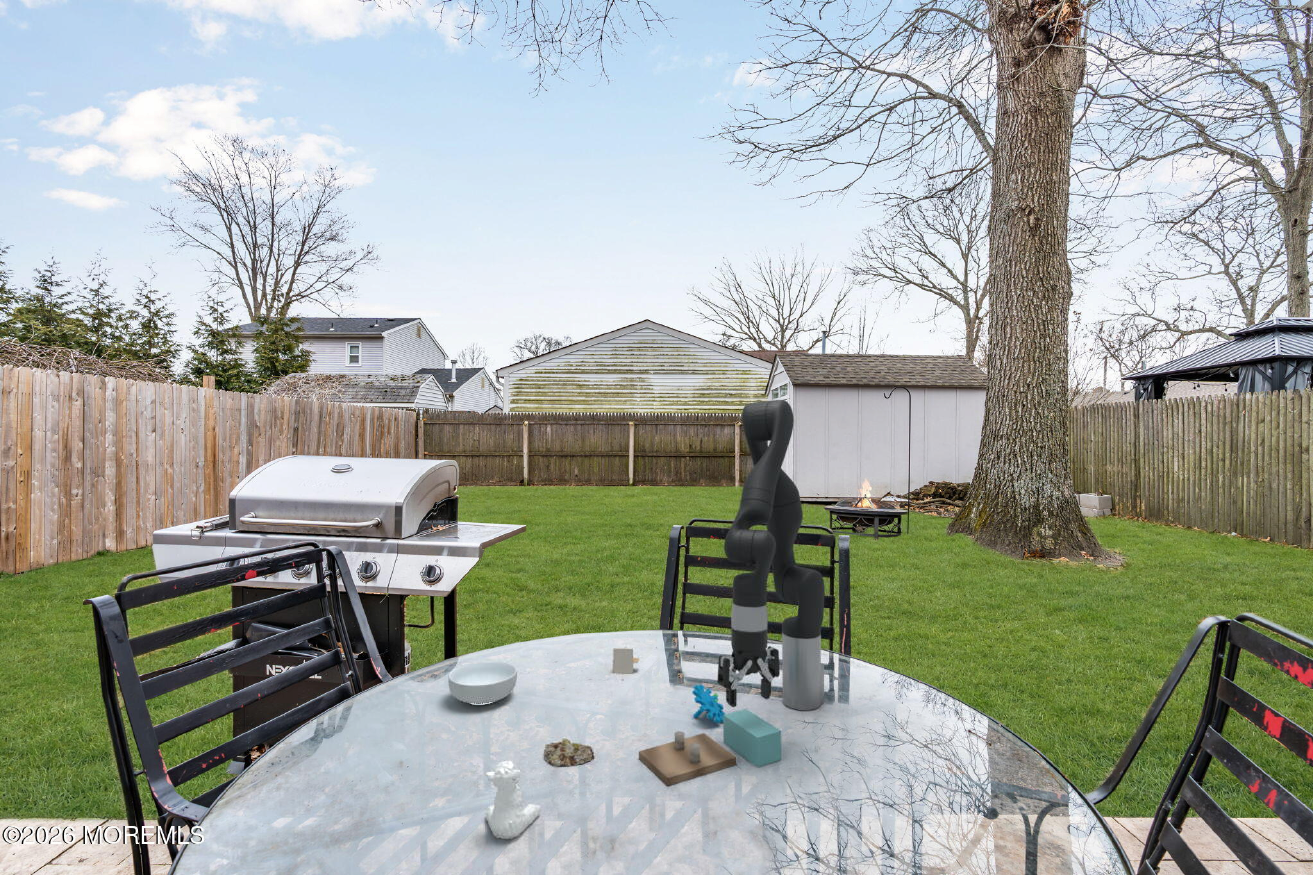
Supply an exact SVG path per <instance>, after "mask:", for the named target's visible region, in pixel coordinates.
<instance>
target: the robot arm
mask: <svg viewBox="0 0 1313 875" xmlns="http://www.w3.org/2000/svg"><path fill="white" fill-rule="evenodd" d="M741 413H742V414H741V421H742V429H743V434H744V437H745V440H746V443H747V447H748V451H749V454H750V457H751V460H752V465H753V468H752V469H751V470H750V472H749V473H748V475H747V476H746V478H745V480H744V483H743V487H742V490H741V498H740V504H739V509H738V511H737V513H736V516H735V518H734V520H733V522H732V524H731V526H730V528H729V530H728V532H727V533H726V537H725V539H724V543H723V544H724V545H723V549H724V554H725V556H726V558H727V559H728V560H729V561H730V562H734V563H740V564H754V565H756V567H755V569H754V571H752V572H744V573H739V574H736V575H735V576H733V577H734V578H733V580H732V607H731V619H730V620H731V625H730V626H731V627H730V628H731V632H730V635H731V636H730V639H731V640H730V643H731V648H732V652H731V655H729V656H724V655H722V654H721V655H719V656H718V665H717V666H718V667H717V684H718V685H719V686H721V687H723V688H724V689H725V701H726V703H727V704H728V706H730V707H732V708H735V707H737V701H738V699H737V698H738V697H737V696H738V695H737V693H738V692H737V686H738V685H739V683H740V682H741V681H742V680H743V679H744V677H745V676H750V675H752V674H755V675H756V674H759V675H760V677H761V679H760V696H761V697H762V698H763V699H765V700H768V699H770V697H771V695H772V682H773V680H774V679H775V678H778V677H779V676H780V673H781V672H780V652H779V649H777V648H775V647H773V646H768V633H769V632H768V631H769V630H768V629H769V628H768V625H769V624H768V623H769V622H768V621H769V620H768V617H769V616H768V607H767V606H768V605H767V597H768V596H767V595H768V594H767V593H768V590H767V589H768V579H769V575H770V571H771V570H770V569H771V567H772V576H773V577H772V578H773V584H774V589H775V593H776V596H777V597H778V599H780V600H781V601H782V602H784V603H786V604H790V605H795V606H798V607H797V615H796V616H790V617H787V618H785V619H784V620H783V621H782V625H781V630H782V631H781V637H782V638H781V641H782V643H781V646H782V648H781V652H782V653H781V654H782V657H781V659H782V664H781V666H782V674H781V675H782V676H781V677H782V678H781V679H782V680H781V681H782V683H781V684H782V687H781V688H782V689H781V690H782V691H781V692H782V703H783V705H785V706H786V707H788V708H789V709H793V710H798V711H811V710H812V711H813V710H815V709H818V708H820V707H821V705H822V704H824V703H825V666H824V663H821V662H822V655H821V654H822V650H821V648H822V643H821V642H822V641H821V640H822V639H821V638H822V635H821V632H822V625H823V622H824V611H825V607H824V606H825V592H826V591H825V590H826V589H825V581H824V580H825V579H824V578H823V575H822V574H821V572H819V571H818V570H815V569H812V568H807V567H801V566H798V565H797V563H796V558H795V554H794V553H795V552H794V543H795V541H796V539H797V535H798V533H799V531H800V528H801V525H802V524H803V523H802V522H803V517H804V514H803V507H802V502H801V497H800V491H799V489H798V487H797V485H796V484H795V482H794V481H793V480H792V479H791V478H790V476H788V474H787V473H786V471H785V470H783V468H782V466H783V463H784V460H785V457H786V454H787V451H788V448H789V444H790V442H791V438H792V434H793V429H794V423H795V422H794V421H795V420H794V413H793V408H792V406H791V405H790V404H789V402H788V401H787V400H785V399H774V400H764V401H756V402H751V403H747V404H745V405H744V407H743V409H742V412H741ZM769 441H770V442H769ZM768 442H769V445H768ZM764 524H765V526H766V530H761V529H751V528H752V527H755V526H759V525H764ZM766 660H767V665H766V664H765V661H766ZM737 672H738V673H737Z"/></svg>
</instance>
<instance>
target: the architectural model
mask: <svg viewBox="0 0 1313 875" xmlns="http://www.w3.org/2000/svg"><path fill="white" fill-rule="evenodd" d="M612 654H613V655H612V658H613V659H612V674H615V673H616V674H615V675H617V674H618V675H621V674H622V675H634V664H638V663H639V661H640V657H634V649H633V648H627V646H625V647H623V648H619V647H617V648H615V647H613V648H612Z"/></svg>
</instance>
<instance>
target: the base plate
mask: <svg viewBox="0 0 1313 875" xmlns="http://www.w3.org/2000/svg"><path fill="white" fill-rule="evenodd" d="M638 759H639V760H640V761H641V762H642V763H643V764H644V765H645V766H646V767H647V769H649V770H650V771H651V772H652V773H653V774H654V775H656V776H657V777H658V779H660V781H662V782H663V783H664V784H665V785H667V786H668V787H669V786H672V785H676V784H679V783H682V782H686V781H688V780H691V779H695V778H698V777H701V776H704V775H707V774H711V773H713V772H717V771H721V770H723V769H726V768H729V767H732V766H736V765H737V762H738V761H737V756H736V755H735V754H733V753H732V752H730V751H729V750H727V749H726V747H723V745H721V744H720V743H718V742H717V741H715V740H714V739H713V738H711V737H710V736H709V735H707V734H706V733H704V732H703V733H699V734H696V735H692V736H689V737H686V738H685V732H684V731H679V730H678V731H675V732H674V741H670V742H668V743H663V744H660V745H656V746H652V747H650V748H649V747H648V748H646V749H642V750H639V751H638Z"/></svg>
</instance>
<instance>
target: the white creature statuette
mask: <svg viewBox="0 0 1313 875" xmlns="http://www.w3.org/2000/svg"><path fill="white" fill-rule="evenodd" d="M520 775H521V770H520V769H519V767H518V766H517V765H516V764H514V763H513V761H509V760H503V761H500V762H498V764H496V766H495V767H494V769H493V770H492V771H488V772H486V777H487V781H489V782H490V783H491V782H492V785H493V786H494V787H496V788H497V791H496V794H495V796H494V802H493V803H494V804H492V805H488V807H487V808H486V812H485V817H486V822H487V821H488V822H487V823H488V826H489V828H490V830H491V832H492V834H493V836H495V838H497V837H498V838H497V839H499V838H502V839H501V840H510V839H509V838H513V839H514V837H515V838H518V837H519V836H520V835H522V832H524V831H525V830H526V829H527V828H528V826H530V825H531V824H532V823H533V821H535V820H536V819H537V817H538V816H539V815H540V813H541V810H542V808H541V806H540V805H539V804H535V803H533V804H532V803H528V805H527V806H525V807H524V808H523V807H522V804H523V803H524V800H523V792H522V790H521V787H519V786H518V783H519V780H520Z"/></svg>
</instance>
